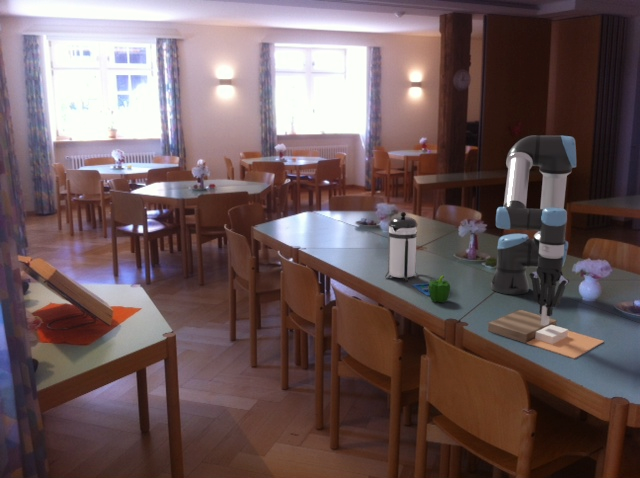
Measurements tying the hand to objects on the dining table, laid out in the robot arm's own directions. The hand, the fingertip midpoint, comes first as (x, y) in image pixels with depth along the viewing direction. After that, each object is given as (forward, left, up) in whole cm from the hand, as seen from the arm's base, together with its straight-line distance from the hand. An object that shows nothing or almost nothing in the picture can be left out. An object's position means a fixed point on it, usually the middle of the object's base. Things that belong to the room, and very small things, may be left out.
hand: (544, 324), depth 199 cm
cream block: (0, +3, -4) cm, 5 cm away
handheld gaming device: (-11, -58, -5) cm, 59 cm away
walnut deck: (0, -8, -4) cm, 9 cm away
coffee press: (-17, -78, -5) cm, 80 cm away
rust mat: (0, +7, -4) cm, 9 cm away
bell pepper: (-3, -46, -5) cm, 46 cm away
